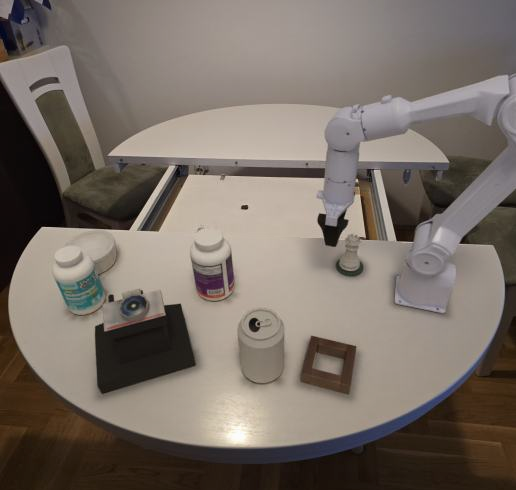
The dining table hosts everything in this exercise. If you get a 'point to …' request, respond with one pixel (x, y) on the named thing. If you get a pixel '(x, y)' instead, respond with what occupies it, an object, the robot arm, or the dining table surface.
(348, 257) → the rook chess piece
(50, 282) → the dining table surface
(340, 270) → the coaster
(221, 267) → the pill bottle
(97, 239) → the ramekin
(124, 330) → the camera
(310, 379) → the holder
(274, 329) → the can
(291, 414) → the dining table surface
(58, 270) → the pill bottle
